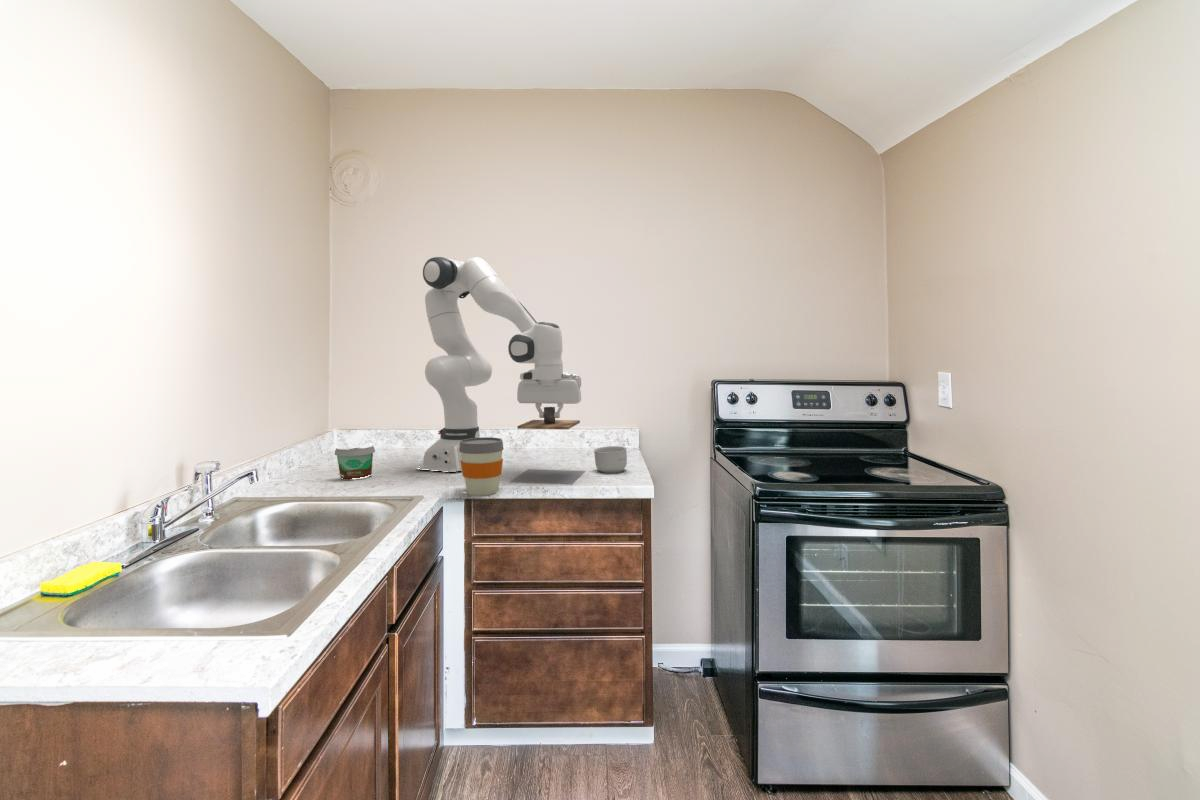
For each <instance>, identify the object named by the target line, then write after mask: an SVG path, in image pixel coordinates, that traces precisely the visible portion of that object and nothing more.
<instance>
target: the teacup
mask: <svg viewBox="0 0 1200 800" xmlns="http://www.w3.org/2000/svg"><path fill="white" fill-rule="evenodd" d="M627 449H628V448H627V447H626V446H622V445H621V446H620V445H607V446H600V447H596V448H595V449H593V452H594V462H595V468H597V470H598V471H600V472H602V473H604V474H605V473H606V474H615V473H616V474H617V473H621V472H622V471H623V470H624V469H625V468H626V466H627V464H628V462H627V461H628V459H627V457H628V456H627V455H628V454H627V451H628V450H627Z"/></svg>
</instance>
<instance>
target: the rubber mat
mask: <svg viewBox="0 0 1200 800" xmlns="http://www.w3.org/2000/svg"><path fill="white" fill-rule="evenodd" d="M586 471H587V470H572V469H571V470H568V469H566V470H565V469H563V470H562V469H535V468H534V469H533V468H530V469H529V468H528V469H526V470H525V471H524V472H522V473H520V474H518V475H517V476H515V478H513V479H512V480H510V481H508V483H509V484H510V483H514V484H518V483H519V484H538V485H539V484H543V485H546V484H547V485H571V486H572V485H573V484H574V483H576V481H577V480H578V479H580V478H581V477H582V476H583V475H584V474H585V473H586Z"/></svg>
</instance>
